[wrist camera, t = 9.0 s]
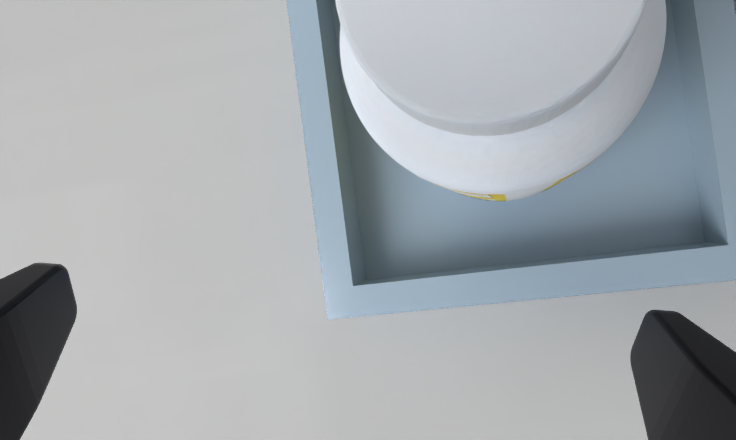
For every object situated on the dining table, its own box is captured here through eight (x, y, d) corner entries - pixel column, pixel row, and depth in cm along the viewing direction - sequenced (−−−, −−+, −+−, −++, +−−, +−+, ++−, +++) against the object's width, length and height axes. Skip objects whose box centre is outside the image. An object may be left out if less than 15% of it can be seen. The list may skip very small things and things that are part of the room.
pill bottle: (611, 13, 19) (767, -285, 8) (589, 212, 19) (707, 207, 8) (413, 8, 20) (300, -249, 9) (394, 193, 21) (258, 164, 9)
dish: (680, -129, 19) (707, -182, 17) (736, 268, 19) (773, 276, 16) (303, -38, 22) (277, -72, 19) (347, 307, 22) (327, 319, 19)
